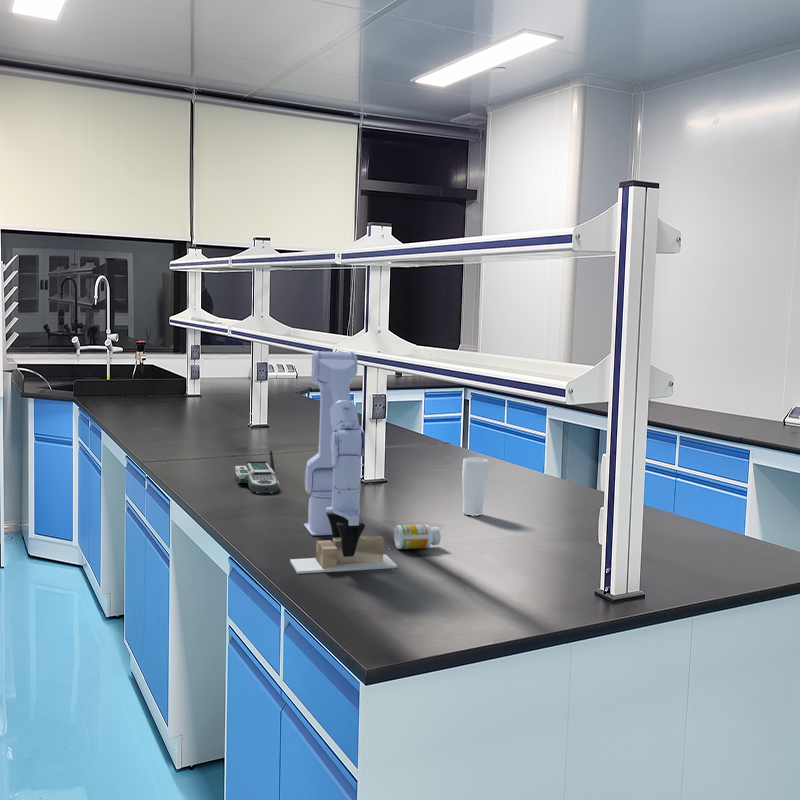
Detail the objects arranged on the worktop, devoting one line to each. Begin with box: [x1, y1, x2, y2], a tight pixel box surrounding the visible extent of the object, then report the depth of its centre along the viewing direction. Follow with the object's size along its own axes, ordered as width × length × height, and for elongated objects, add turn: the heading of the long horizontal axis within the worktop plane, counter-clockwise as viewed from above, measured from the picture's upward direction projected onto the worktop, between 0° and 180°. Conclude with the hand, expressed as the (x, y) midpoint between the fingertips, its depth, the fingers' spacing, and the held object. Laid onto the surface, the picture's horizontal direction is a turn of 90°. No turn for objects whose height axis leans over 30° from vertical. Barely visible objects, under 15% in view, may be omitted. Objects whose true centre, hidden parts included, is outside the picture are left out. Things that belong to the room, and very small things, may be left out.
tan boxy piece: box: [315, 535, 385, 568], centre depth 170 cm, size 6×14×5 cm, turn 108°
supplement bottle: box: [393, 524, 442, 550], centre depth 184 cm, size 5×5×10 cm
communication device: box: [234, 450, 281, 493], centre depth 241 cm, size 12×24×9 cm, turn 18°
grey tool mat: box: [289, 553, 398, 575], centre depth 169 cm, size 8×21×1 cm, turn 108°
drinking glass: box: [461, 456, 489, 515], centre depth 217 cm, size 7×7×15 cm
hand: (343, 550), depth 169 cm, fingers open, 7 cm apart
